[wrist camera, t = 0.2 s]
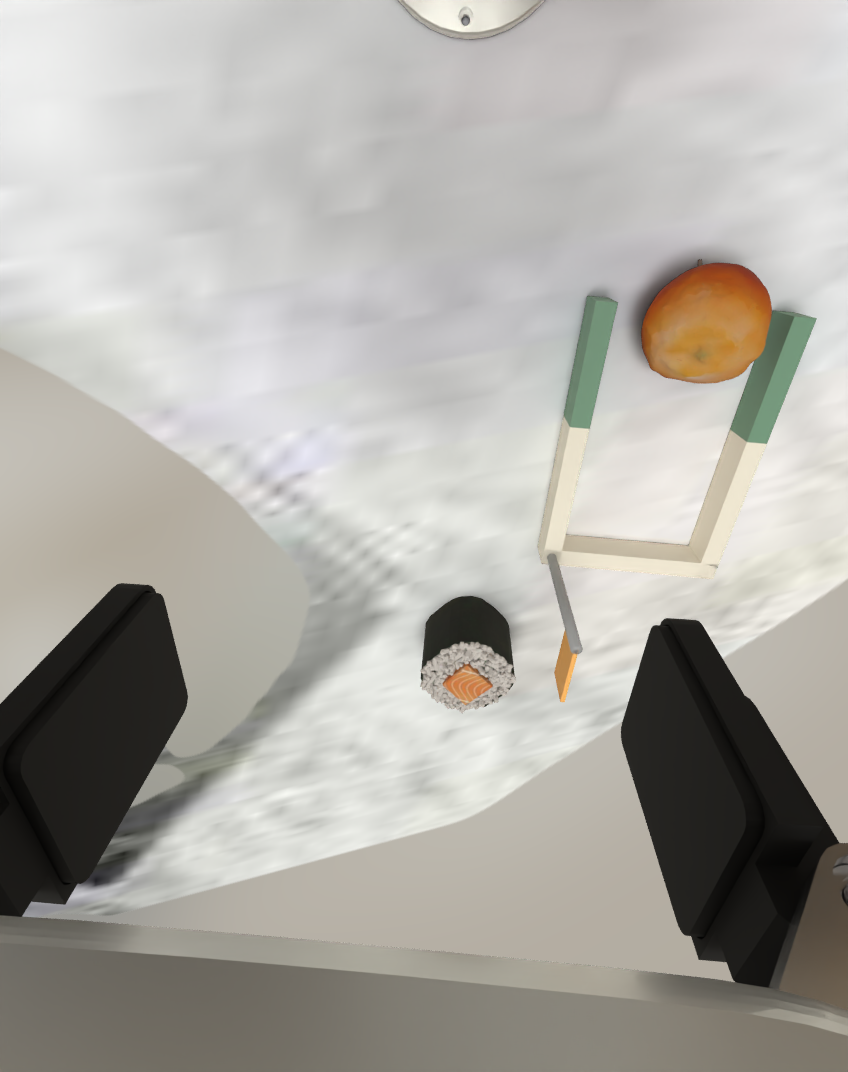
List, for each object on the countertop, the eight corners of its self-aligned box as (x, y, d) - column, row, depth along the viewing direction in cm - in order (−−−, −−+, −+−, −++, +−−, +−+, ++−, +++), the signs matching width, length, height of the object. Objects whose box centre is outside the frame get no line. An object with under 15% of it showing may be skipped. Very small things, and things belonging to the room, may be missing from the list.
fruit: (799, 271, 37) (806, 345, 33) (705, 350, 44) (701, 419, 40) (707, 206, 36) (702, 275, 32) (624, 297, 42) (612, 364, 38)
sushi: (523, 629, 56) (532, 686, 49) (465, 671, 59) (465, 730, 52) (468, 582, 53) (469, 635, 46) (410, 628, 57) (403, 684, 50)
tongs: (587, 295, 40) (647, 329, 27) (793, 312, 40) (954, 354, 27) (530, 584, 53) (552, 700, 40) (685, 598, 53) (759, 720, 40)
